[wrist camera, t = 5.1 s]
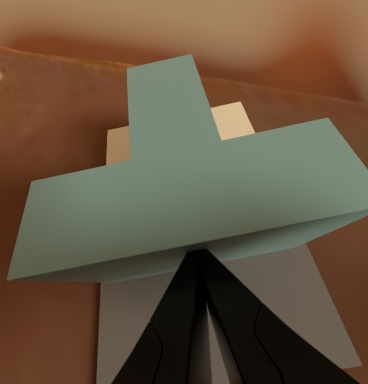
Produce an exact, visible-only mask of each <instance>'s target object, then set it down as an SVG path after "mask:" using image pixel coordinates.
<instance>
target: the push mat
mask: <svg viewBox="0 0 368 384" xmlns="http://www.w3.org/2000/svg"><path fill="white" fill-rule="evenodd" d="M210 109H211V112H212V114H213V117H214V120H215V123H216V126H217V129H218V132H219V135H220V137H221V140H226V139H231V138H236V137H240V136H245V135H250V134H254V133H255V132H254V130H253V128H252V125H251V123H250V121H249V119H248V117H247V115H246V112H245V110H244V108H243V106H242V104H241V102H237V103H232V104H227V105H223V106H218V107H214V108H210ZM129 160H130V135H129V126H126V127H121V128H116V129H112V130H108V134H107V157H106V165H110V164H115V163H120V162H124V161H129ZM221 263H222V264H223V265H224V266H225V267H227V268H228V269H229V270H230V271H231V272H232V273H233V274H234V275H235V276H236V277H237V278H238V279H239V280H240V281H241V282H242V283H243V284H244V285H245V286H246V287H247V288H248V289H249V290H250V291H251V292H252V293H254V294H255V295H256V296H257V297H258V298H259V299H260V300H261V301H262V303H264V304H265V305H266V306H267V307H268V308H269V309H270V310H271V311H272V312H273V313H274V314H276V315H277V316H278V317H279V318H280V319H281V320H282V321H283V322H284V323H285V324H287V325H288V326H289V327H290V328H291V329H292V330H294V331H295V332H296V333H297V334H298V335H300V336H301V337H302V338H303V339H305V340H306V341H307V342H308V343H309V344H311V345H312V346H313V347H314V348H316V349H317V350H318V351H319V352H321V353H322V354H323V355H324V356H326V357H327V358H328V359H330V360H331V361H332V362H333V363H335V364H336V365H337V366H338V367H340V368H341V369H344V368H351V367H357V366H362V364H361V362H360V359H359V357H358V355H357V353H356V351H355V349H354V346H353V344H352V342H351V340H350V338H349V336H348V333H347V331H346V329H345V327H344V325H343V323H342V320H341V318H340V316H339V314H338V312H337V310H336V307H335V305H334V303H333V301H332V299H331V297H330V294H329V292H328V290H327V288H326V286H325V284H324V281H323V279H322V277H321V275H320V273H319V271H318V268H317V266H316V264H315V262H314V260H313V258H312V255H311V253H310V251H309V249H308V247H307V245H306V243H303V244H301V245H299V246H296V247H294V248H291V249H286V250H280V251H275V252H270V253H265V254H260V255H255V256H249V257H244V258H239V259H234V260H229V261H224V262H221ZM175 273H176V271H172V272H167V273H161V274H156V275H151V276H146V277H141V278H136V279H130V280H125V281H120V282H115V283H104V282H101V291H100V313H99V335H98V357H97V380H96V384H111V383H112V381H113V380H114V378H115V377H116V375H117V374H118V372H119V371H120V369H121V368H122V366H123V364H124V363H125V361H126V360H127V358H128V357H129V355H130V353H131V352H132V350H133V348H134V347H135V345H136V343H137V341H138V340H139V338H140V336H141V335H142V333H143V331H144V329H145V327H146V325H147V324H148V323H150V322H149V320H150V318H151V317H152V315H153V313H154V311H155V309H156V307H157V306H158V304H159V302H160V300H161V298H162V296H163V295H164V293H165V291H166V289H167V287H168V286H169V284H170V282H171V280H172V278H173V276H174V275H175ZM207 310H208V307H207ZM208 324H209V340H210V357H211V374H212V384H230V382H229V379H228V375H227V372H226V369H225V365H224V362H223V359H222V355H221V352H220V348H219V345H218V342H217V338H216V335H215V331H214V328H213V325H212V321H211V318H210V314H209V311H208Z"/></svg>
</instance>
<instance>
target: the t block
mask: <svg viewBox="0 0 368 384" xmlns="http://www.w3.org/2000/svg"><path fill="white" fill-rule="evenodd" d="M127 86H128V110H129V135H130V160H129V161H124V162H120V163H115V164H110V165H106V166H101V167H96V168H92V169H87V170H82V171H78V172H73V173H68V174H64V175H59V176H54V177H50V178H45V179H41V180H36V181H31V185H30V189H29V193H28V197H27V201H26V205H25V209H24V213H23V217H22V221H21V225H20V229H19V232H18V236H17V240H16V244H15V248H14V252H13V256H12V260H11V264H10V268H9V272H8V276H7V280H6V281H47V282H104V283H115V282H120V281H125V280H130V279H136V278H141V277H146V276H151V275H156V274H161V273H167V272H172V271H177V269H178V267H179V265H180V264H181V262H182V260H183V258H184V256H185V254H186V253H187V252H192V251H198V250H202V249H208V250H209V251H210V252H211V253H212V254H213V255H214V256H215V257H216V258H217V259H218V260H219V261H220V262H224V261H229V260H234V259H239V258H244V257H249V256H255V255H260V254H265V253H270V252H275V251H280V250H286V249H291V248H294V247H296V246H299V245H301V244H303V243H306V242H308V241H310V240H313V239H315V238H317V237H320V236H322V235H324V234H326V233H329V232H331V231H333V230H336V229H338V228H340V227H343V226H345V225H347V224H349V223H352V222H354V221H356V220H359V219H361V218H363V217H366V216H368V170H367V168H366V167H365V166H364V164H363V163H362V162H361V160H360V159H359V158H358V157H357V155H356V154H355V153H354V151H353V150H352V149H351V147H350V146H349V145H348V143H347V142H346V141H345V140H344V138H343V137H342V136H341V134H340V133H339V132H338V130H337V129H336V128H335V126H334V125H333V124H332V123H331V121H330V120H329V119H328V118H324V119H319V120H315V121H310V122H305V123H301V124H296V125H292V126H287V127H282V128H278V129H273V130H268V131H264V132H259V133H254V134H250V135H245V136H240V137H236V138H231V139H226V140H221V137H220V135H219V132H218V129H217V126H216V123H215V120H214V117H213V114H212V112H211V109H210V106H209V103H208V100H207V97H206V94H205V92H204V89H203V86H202V83H201V80H200V77H199V74H198V71H197V69H196V66H195V63H194V60H193V57H192V54H188V55H184V56H180V57H176V58H172V59H167V60H163V61H158V62H154V63H150V64H146V65H141V66H137V67H132V68H128V69H127Z"/></svg>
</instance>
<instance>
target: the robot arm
mask: <svg viewBox="0 0 368 384" xmlns="http://www.w3.org/2000/svg"><path fill="white" fill-rule="evenodd" d="M207 307H208V310H207ZM208 311H209V314H210V318H211V321H212V325H213V328H214V331H215V335H216V338H217V342H218V345H219V348H220V352H221V355H222V359H223V362H224V365H225V369H226V372H227V375H228V379H229V382H230V384H360V383H358V382H357V381H356V380H355V379H353V378H352V377H351V376H350V375H348V374H347V373H346V372H345V371H343V370H342V369H341V368H340V367H338V366H337V365H336V364H335V363H333V362H332V361H331V360H330V359H328V358H327V357H326V356H324V355H323V354H322V353H321V352H319V351H318V350H317V349H316V348H314V347H313V346H312V345H311V344H309V343H308V342H307V341H306V340H305V339H303V338H302V337H301V336H300V335H298V334H297V333H296V332H295V331H294V330H292V329H291V328H290V327H289V326H288V325H287V324H285V323H284V322H283V321H282V320H281V319H280V318H279V317H278V316H277V315H276V314H274V313H273V312H272V311H271V310H270V309H269V308H268V307H267V306H266V305H265V304H264V303H262V301H261V300H260V299H259V298H258V297H257V296H256V295H255V294H254V293H252V292H251V291H250V290H249V289H248V288H247V287H246V286H245V285H244V284H243V283H242V282H241V281H240V280H239V279H238V278H237V277H236V276H235V275H234V274H233V273H232V272H231V271H230V270H229V269H228V268H227V267H225V266H224V265H223V264H222V263H221V262H220V261H219V260H218V259H217V258H216V257H215V256H214V255H213V254H212V253H211V252H210V251H209V250H208V249H202V250H198V251H192V252H187V253H186V254H185V256H184V258H183V260H182V262H181V264H180V265H179V267H178V269H177V271H176V273H175V275H174V276H173V278H172V280H171V282H170V284H169V286H168V287H167V289H166V291H165V293H164V295H163V296H162V298H161V300H160V302H159V304H158V306H157V307H156V309H155V311H154V313H153V315H152V317H151V318H150V320H149V322H150V323H148V324H147V325H146V327H145V329H144V331H143V333H142V335H141V336H140V338H139V340H138V341H137V343H136V345H135V347H134V348H133V350H132V352H131V353H130V355H129V357H128V358H127V360H126V361H125V363H124V364H123V366H122V368H121V369H120V371H119V372H118V374H117V375H116V377H115V378H114V380H113V381H112V383H111V384H212V374H211V357H210V340H209V324H208Z"/></svg>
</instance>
